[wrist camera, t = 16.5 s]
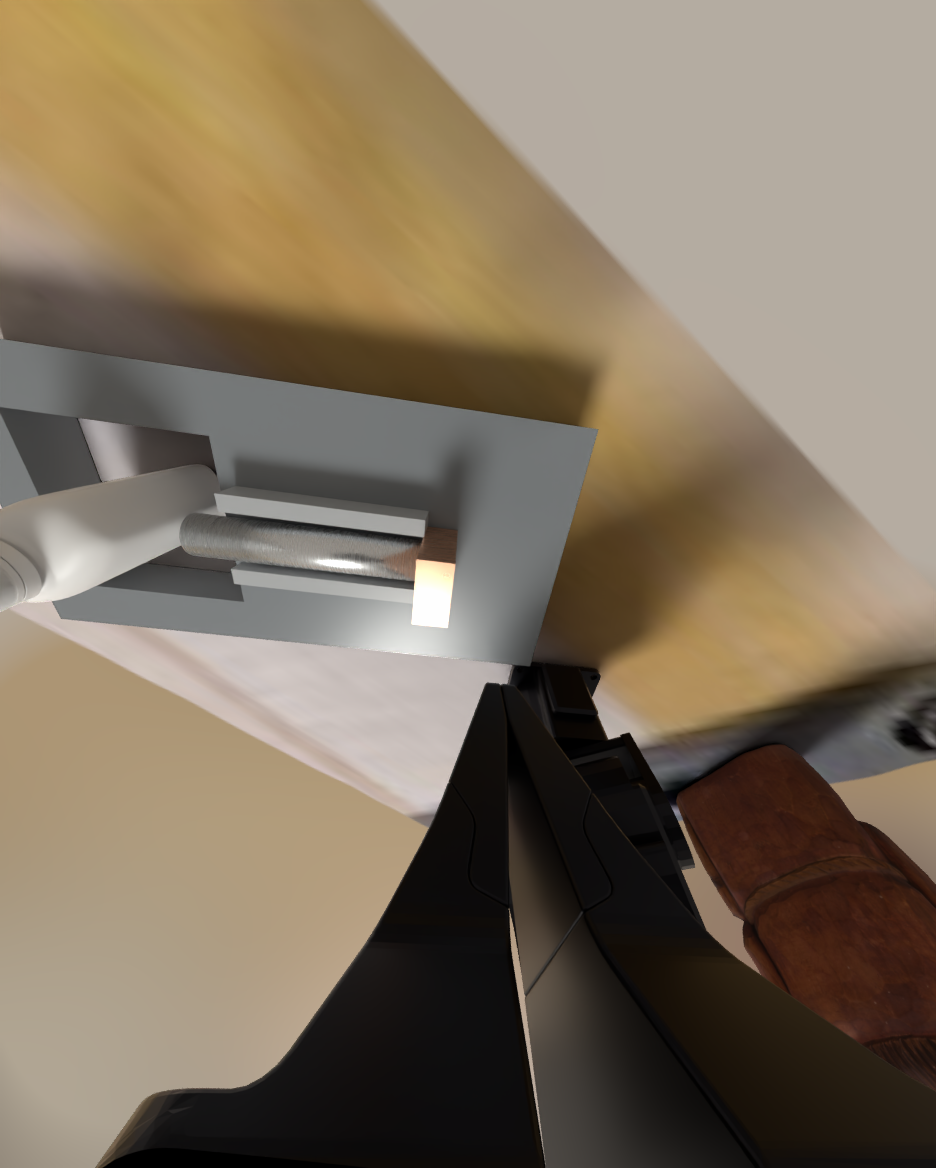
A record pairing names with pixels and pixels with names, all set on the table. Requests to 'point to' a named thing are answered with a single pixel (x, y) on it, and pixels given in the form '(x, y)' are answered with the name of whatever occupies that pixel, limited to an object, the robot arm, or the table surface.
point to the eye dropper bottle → (96, 531)
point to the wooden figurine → (822, 901)
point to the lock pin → (335, 554)
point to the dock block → (312, 499)
